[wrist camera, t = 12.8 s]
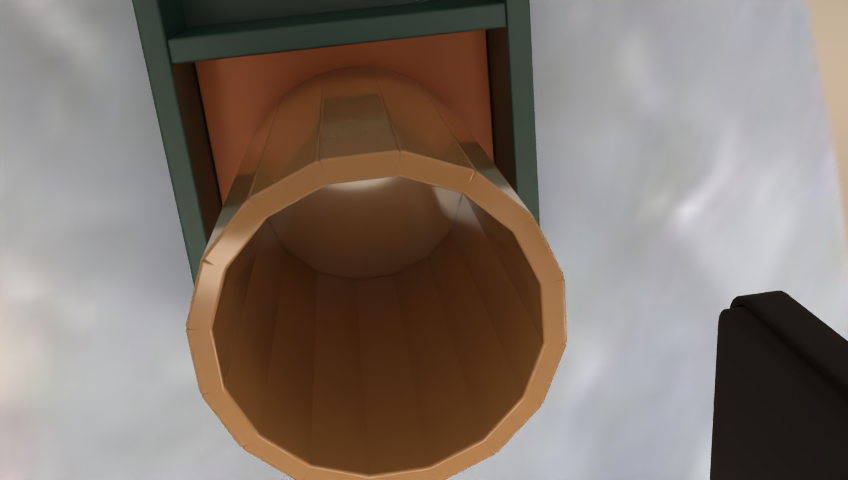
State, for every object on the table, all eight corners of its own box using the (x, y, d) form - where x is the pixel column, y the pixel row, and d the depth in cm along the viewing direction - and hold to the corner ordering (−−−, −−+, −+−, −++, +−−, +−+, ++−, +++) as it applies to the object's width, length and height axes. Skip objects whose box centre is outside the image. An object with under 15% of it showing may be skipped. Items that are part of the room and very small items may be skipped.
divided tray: (229, 328, 25) (215, 385, 22) (90, -352, 19) (40, -414, 16) (518, 289, 26) (545, 339, 23) (480, -381, 19) (509, -446, 16)
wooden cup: (226, 80, 22) (150, 179, 13) (464, 53, 22) (560, 130, 13) (266, 298, 24) (227, 516, 15) (481, 269, 25) (571, 465, 16)
